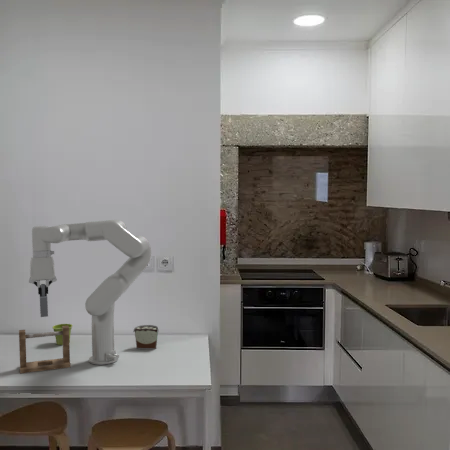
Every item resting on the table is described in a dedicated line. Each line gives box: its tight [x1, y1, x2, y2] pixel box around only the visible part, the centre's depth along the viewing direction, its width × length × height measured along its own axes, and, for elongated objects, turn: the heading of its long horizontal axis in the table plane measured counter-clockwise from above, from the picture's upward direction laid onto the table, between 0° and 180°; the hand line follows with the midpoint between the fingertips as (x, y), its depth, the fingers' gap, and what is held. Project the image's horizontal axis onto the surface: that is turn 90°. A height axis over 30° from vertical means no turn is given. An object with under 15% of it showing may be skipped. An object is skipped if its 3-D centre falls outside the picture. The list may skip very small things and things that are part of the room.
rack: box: [18, 326, 71, 374], centre depth 227 cm, size 20×9×16 cm, turn 111°
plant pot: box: [52, 323, 73, 346], centre depth 261 cm, size 9×9×9 cm
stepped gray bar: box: [39, 283, 49, 318], centre depth 234 cm, size 8×3×14 cm, turn 20°
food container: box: [133, 324, 160, 350], centre depth 255 cm, size 12×6×10 cm, turn 84°
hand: (43, 295), depth 234 cm, fingers closed on stepped gray bar, 1 cm apart
